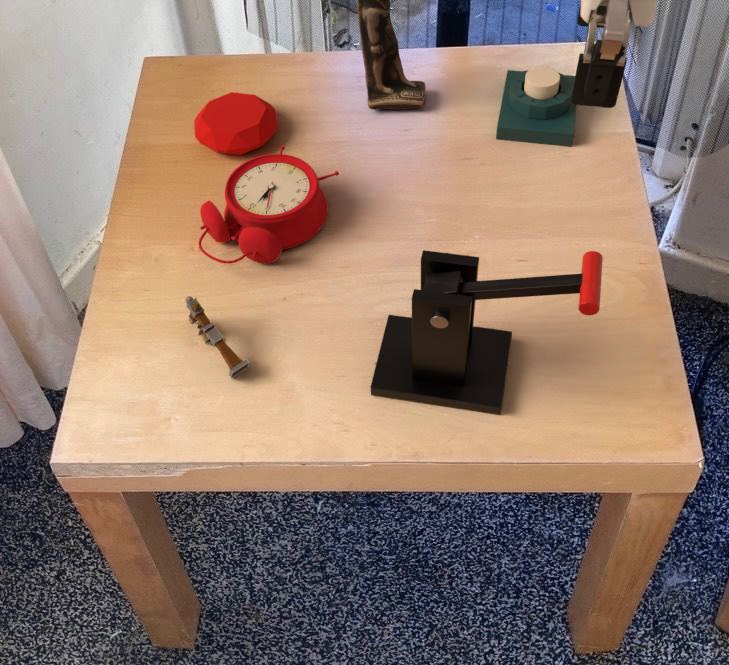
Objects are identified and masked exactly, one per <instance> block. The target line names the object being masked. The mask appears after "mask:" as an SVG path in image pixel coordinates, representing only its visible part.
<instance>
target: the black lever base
mask: <svg viewBox="0 0 729 665" xmlns="http://www.w3.org/2000/svg"><path fill="white" fill-rule="evenodd" d="M479 266H480V257H479V256H473V255H463V254H457V253H450V252H449V253H448V252H441V251H433V250H425V249H424V250H422V253H421V257H420V289H416V288H414V289H413V290H412V291H413V292H412V296H411V317H409V316H403V315H396V314H395V315H394V314H387V315H388V316H387V319H386V323H385V327H384V330H383V331H384V332H383V336H382V339H381V342H380V348H379V351H378V355H377V360H376V364H375V367H374V371H373V374H372V379H371V385H370V388H369V389H370V395H371V396H374V397H381V398H386V399H392V400H393V399H394V400H400V401H405V402H413V403H418V404H419V403H420V404H426V405H433V406H439V407H440V406H441V407H447V408H451V409H452V408H453V409H459V410H464V411H465V410H466V411H471V412H478V413H483V414H484V413H485V414H491V415H496V416H497V415H498V416H500V415H501V414H502V408H503V401H504V394H505V387H506V378H507V373H508V372H507V371H508V365H509V357H510V351H511V350H510V349H511V342H512V336H513V332H512V331H511V330H503V329H496V328H489V327H483V326H482V327H481V326H475V325H474V324H475V312H476V311H475V310H476V302H477V300H472V297H471V296H463V295H456V294H448V293H441V292H433V291H425V290H423V287H424V283H425V278H426V274H427V273H440V272H453V271H461V273H462V276H463V278H464V281H465V282H473V281H478V277H479V276H478V275H479Z"/></svg>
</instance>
